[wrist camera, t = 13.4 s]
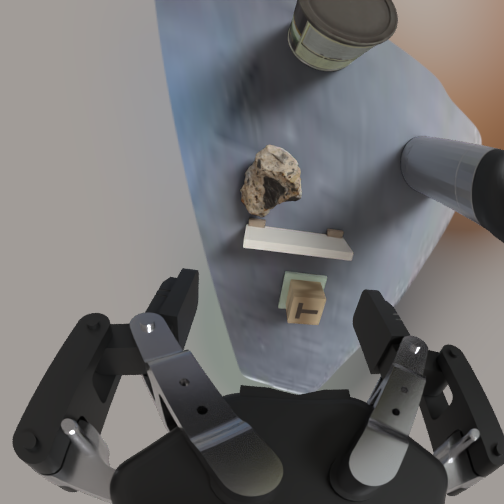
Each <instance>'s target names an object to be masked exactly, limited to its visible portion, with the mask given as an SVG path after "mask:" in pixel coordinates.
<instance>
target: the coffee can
mask: <svg viewBox="0 0 504 504" xmlns="http://www.w3.org/2000/svg"><path fill="white" fill-rule="evenodd" d="M397 22H398V18H397V12H396V8H395V6H394V4H393V2H392V0H297V4H296V7H295V11H294V15H293V19H292V22H291V26H290V28H289V31H288V42H289V46H290V48H291V50H292V52H293V53H294V55H295V56H296V57H297V58H298V59H299V60H300V61H302V62H303V63H304V64H306V65H308V66H310V67H312V68H315V69H317V70H323V71H335V70H340V69H342V68H345V67H346V66H348V65H349V64H350V63H351V62H352V61H354V60H355V59H357V58H358V57H360V56H361V55H363V54H364V53H365V52H367V51H368V50H370V49H371V48H373V47H374V46H376V45H378V44H381V43H383V42H385V41H386V40H388V39H389V38H390V37H391V36H392V35H393V34H394V32H395V30H396V28H397Z"/></svg>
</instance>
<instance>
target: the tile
mask: <svg viewBox="0 0 504 504" xmlns="http://www.w3.org/2000/svg"><path fill="white" fill-rule="evenodd" d="M291 279H295V280H304V281H314V282H321V285H322V288H323V291H324V287H325V284H326V280H327V276H324V275H315V274H306V273H297V272H288V271H285V274H284V280H283V285H282V289H281V294H280V299H279V304H278V308H281V309H286V300H287V295H288V291H289V286H290V281H291Z"/></svg>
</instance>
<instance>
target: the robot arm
mask: <svg viewBox="0 0 504 504" xmlns="http://www.w3.org/2000/svg"><path fill="white" fill-rule="evenodd" d="M401 170H402V174H403V177H404V179H405V181H406V182H407V184H408V185H409V186H410V187H411V188H413V189H414V190H416V191H418V192H420V193H422V194H424V195H426V196H428V197H430V198H432V199H434V200H436V201H438V202H440V203H442V204H443V205H445V206H447V207H449V208H451V209H453V210H455V211H456V212H458V213H460V214H462V215H463V216H465V217H467V218H469V219H471V220H472V221H474V222H476V223H477V224H479V225H481V226H482V227H484V228H486V229H487V230H488V231H490V232H491V233H492V234H493V235H494V236H495V237H496V238H498V239H499V240H501V241H502V242H503V243H504V150H501V149H496V148H492V147H488V146H483V145H478V144H473V143H467V142H462V141H456V140H449V139H443V138H436V137H427V136H418V137H415V138H413V139H411V140H410V141H409V142H408V143H407V145H406V146H405V148H404V150H403V152H402V156H401ZM198 282H199V273H198V270H192V269H184V268H183V269H182V270H181V272H180V274H179V275H178V277H177V278H173V277H170V278H168V279H167V280H165V281H164V282H163V283H162V284H161V286H160V288H159V290H158V291H157V293H156V295H155V296H154V298H153V300H152V301H151V303H150V305H149V307H148V309H147V310H146V312H145V313H141V314H138V315H136V316H135V317H134V318H133V319H132V320H131V321H130V323H129V324H110V321H109V319H108V317H107V316H105V315H103V314H100V313H92V314H88V315H86V316H84V317H82V318H81V319H80V320H79V321H78V323H77V324H76V326H75V327H74V329H73V330H72V332H71V333H70V335H69V336H68V338H67V339H66V341H65V342H64V344H63V346H62V347H61V349H60V350H59V352H58V353H57V355H56V357H55V358H54V360H53V362H52V363H51V365H50V366H49V368H48V370H47V372H46V373H45V375H44V377H43V378H42V380H41V382H40V384H39V386H38V387H37V389H36V391H35V393H34V395H33V397H32V398H31V400H30V402H29V404H28V406H27V408H26V410H25V412H24V414H23V416H22V418H21V420H20V422H19V424H18V426H17V429H16V431H15V433H14V436H13V447H14V450H15V452H16V454H17V455H18V457H19V458H20V459H21V460H23V461H24V462H25V463H26V464H28V465H29V466H30V467H31V468H32V469H33V470H34V471H35V472H37V473H38V474H39V475H41V476H42V477H44V478H45V479H47V480H48V481H50V482H51V483H53V484H55V485H57V486H59V487H60V488H62V489H64V490H66V491H69V492H77V491H80V492H82V493H85V494H87V495H90V496H93V497H95V498H98V499H100V500H103V501H106V502H109V503H112V504H445V497H446V494H447V495H449V496H455V495H458V494H459V493H461V492H462V491H464V490H466V489H468V488H469V487H471V486H473V485H474V484H476V483H477V482H479V481H480V480H482V479H483V478H485V477H486V476H488V475H489V474H491V473H492V472H494V471H495V470H496V469H498V468H499V467H500V466H502V465H503V464H504V435H503V432H502V430H501V428H500V425H499V423H498V420H497V418H496V416H495V414H494V411H493V409H492V407H491V405H490V403H489V401H488V399H487V396H486V394H485V392H484V391H483V389H482V387H481V385H480V383H479V381H478V379H477V377H476V375H475V373H474V372H473V370H472V368H471V366H470V364H469V363H468V361H467V359H466V358H465V356H464V354H463V353H462V352H461V350H460V349H458V348H457V347H455V346H453V345H445V346H443V348H442V350H441V351H440V353H439V352H434V351H430V350H428V347H427V345H426V343H425V342H424V341H422V340H421V339H420V338H418V337H415V336H410V334H409V332H408V330H407V329H406V327H405V326H404V324H403V322H402V320H400V317H399V315H397V312H396V311H395V309H394V307H393V306H392V305H391V304H389V303H388V302H387V301H385V300H384V298H383V296H382V295H381V293H380V292H379V291H377V290H364V291H363V292H362V294H361V297H360V300H359V302H358V305H357V308H356V310H355V313H354V316H353V327H354V330H355V332H356V335H357V337H358V340H359V343H360V345H361V348H362V351H363V353H364V356H365V359H366V361H367V364H368V367H369V370H370V373H371V374H381V377H380V379H379V380H378V382H377V384H376V386H375V388H374V390H373V392H372V394H371V396H370V398H369V400H368V401H367V403H366V402H364V401H361V400H359V399H356V398H352V397H350V394H349V390H347V389H345V390H321V391H316V392H311V393H306V394H301V395H295V394H291V393H287V392H283V391H279V390H275V389H271V388H266V387H254V386H243V385H241V387H240V393H234V394H229V395H226V396H222V395H221V394H220V393H219V391H218V390H217V389H216V387H215V386H214V384H213V383H212V382H211V380H210V379H209V378H208V376H207V375H206V373H205V372H204V371H203V369H202V367H201V366H200V365H199V363H198V362H197V360H196V359H195V357H194V356H193V354H192V353H191V352H190V351H189V350H184V346H185V343H186V340H187V337H188V334H189V331H190V328H191V325H192V322H193V319H194V316H195V313H196V310H197V305H198V284H199V283H198ZM183 350H184V351H183ZM122 375H141V376H142V378H143V380H144V382H145V385H146V387H147V389H148V391H149V393H150V395H151V397H152V399H153V402H154V404H155V405H156V408H157V410H158V412H159V415H160V417H161V419H162V422H163V424H164V426H165V428H166V429H167V431H168V433H167V434H166V435H164V436H163V437H161V438H160V439H158V440H157V441H155V442H154V443H152V444H151V445H149V446H148V447H146V448H145V449H143V450H142V451H140V452H138V453H137V454H135V455H134V456H132V457H131V458H129V459H127V460H126V461H124V462H123V463H122V464H121V465H119V467H118V468H117V469H116V470H115V469H113V468H111V467H110V464H109V449H108V446H107V444H106V443H105V442H104V440H103V439H102V437H101V436H100V434H101V431H102V428H103V425H104V422H105V419H106V416H107V414H108V411H109V408H110V405H111V402H112V400H113V397H114V394H115V392H116V389H117V386H118V384H119V381H120V379H121V376H122ZM447 385H449V387H450V389H451V391H452V394H453V400H452V403H451V404H450V405H448V403H447V400H446V398H445V396H444V393H443V390H444V389H445V387H446V386H447ZM419 406H420V409H421V412H422V415H423V418H424V421H425V424H426V428H427V431H428V434H429V437H430V441H431V444H432V448H433V452H434V454H433V455H432V454H431V453H430V452H428V451H427V450H426V449H424V448H423V447H422V446H421V445H419V444H418V443H417V442H415V441H414V440H413V439H412V438H410V437H409V433H410V431H411V428H412V425H413V422H414V419H415V416H416V413H417V410H418V407H419Z"/></svg>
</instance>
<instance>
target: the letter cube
mask: <svg viewBox="0 0 504 504" xmlns="http://www.w3.org/2000/svg"><path fill="white" fill-rule="evenodd" d="M325 302H326V297H325V294H324V291H323V288H322V285H321V282H314V281H304V280H295V279H291V281H290V286H289V291H288V295H287V300H286V312H287V322H288V323H298V324H311V325H318V324H319V321H320V318H321V315H322V312H323V309H324V305H325Z"/></svg>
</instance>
